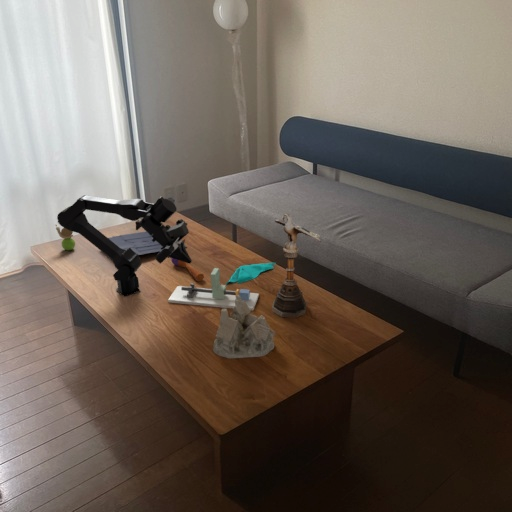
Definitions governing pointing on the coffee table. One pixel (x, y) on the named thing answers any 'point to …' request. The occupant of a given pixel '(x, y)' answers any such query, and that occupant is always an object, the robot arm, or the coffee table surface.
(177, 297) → the white board with rod
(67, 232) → the snail figurine
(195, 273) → the kendama
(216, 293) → the sage green stepped block
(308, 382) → the coffee table surface
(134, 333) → the coffee table surface
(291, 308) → the bird statue
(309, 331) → the coffee table surface
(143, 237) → the papers
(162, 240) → the robot arm
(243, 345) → the ceramic cottage
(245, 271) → the cloth
